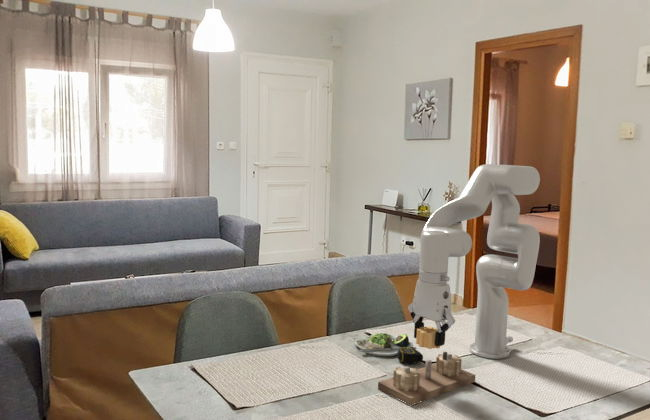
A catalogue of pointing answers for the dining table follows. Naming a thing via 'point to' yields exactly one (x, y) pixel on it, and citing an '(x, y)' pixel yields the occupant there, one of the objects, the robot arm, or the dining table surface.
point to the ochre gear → (426, 337)
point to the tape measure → (409, 355)
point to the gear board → (427, 379)
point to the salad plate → (383, 344)
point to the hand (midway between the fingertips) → (429, 340)
